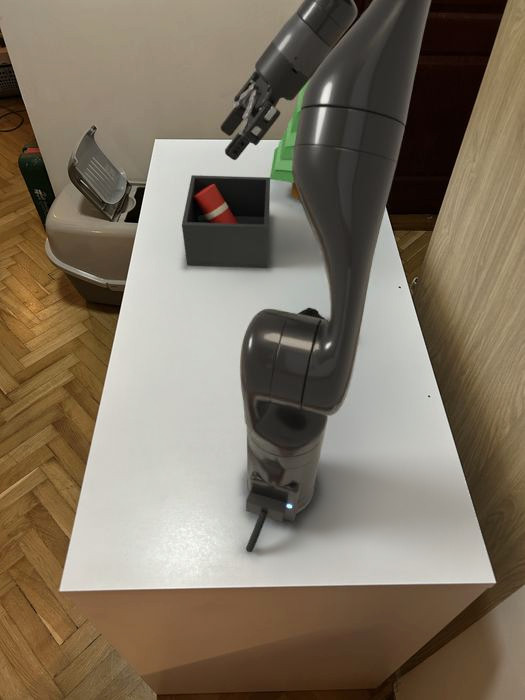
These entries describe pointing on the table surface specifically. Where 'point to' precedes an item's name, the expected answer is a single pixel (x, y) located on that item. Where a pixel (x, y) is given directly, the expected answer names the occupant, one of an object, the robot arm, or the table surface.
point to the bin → (224, 238)
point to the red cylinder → (214, 206)
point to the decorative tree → (287, 149)
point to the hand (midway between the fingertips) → (227, 143)
